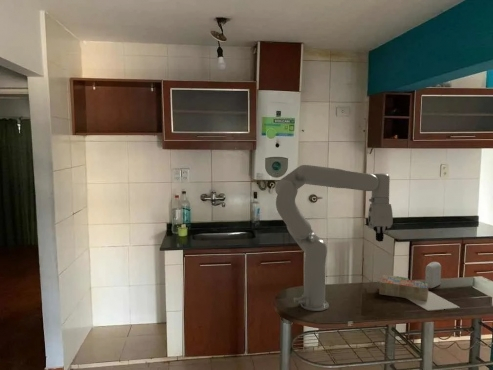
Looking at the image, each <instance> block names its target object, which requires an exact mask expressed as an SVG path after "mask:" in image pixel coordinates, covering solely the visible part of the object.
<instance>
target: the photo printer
mask: <svg viewBox="0 0 493 370" xmlns="http://www.w3.org/2000/svg"><path fill="white" fill-rule="evenodd" d="M424 276H425V278H424V279H425V280H424V282H425V283H428V289H432V288H435V287H439V286H440V285H441V282H442V278H441V277H442V265H441V263H440V262H438V261H432V262H429V263H428V264H427V265H426V266H425V274H424Z"/></svg>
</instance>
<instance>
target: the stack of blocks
mask: <svg viewBox="0 0 493 370" xmlns="http://www.w3.org/2000/svg"><path fill="white" fill-rule="evenodd" d="M378 284H379V288H378V289H379V290H378V294H379V295H382V296H383V295H384V296H388V297H389V296H390V297H398V298H404V299H407V298H409V299H415V300H423V301H427V298H428V291H429V288H428V283H425V281H419V280H410V278H409V277H403V276H398V275H397V276H396V275H389V274H382V276H381V278H380V280H379V283H378Z"/></svg>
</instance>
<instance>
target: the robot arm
mask: <svg viewBox="0 0 493 370" xmlns="http://www.w3.org/2000/svg"><path fill="white" fill-rule="evenodd" d="M390 181H391V179H390V175H389V174H388V173H374V174H373V173H365V172H357V171H350V170H344V169H340V168H336V167H335V168H334V167H327V166H318V165H312V164H311V165H310V164H302V165H301V164H300V165H299V166H298V167H296V168H295V169H293V170H292V171H290V172H289V173H288V174H286V175H285V176H283V177H282V178H281V179H280V180H278V181H277V182H276V184H275V186H274V187H275V189H274V190H275V193H276V197H275V198H276V199H275V208H276V211H277V213H278V214H279V215H278V216H280V218H281V220H282V221H283V222H284V224H285V226H286V229H287V231H288V233H289V234H290V236H291V238H293V240H294V241H295V242H296V244H297V246H299V248H300V249H301V250H302V251H303V253H304V263H303V294H301V296H299V297H293V303H298V304H300V307H301V308H302V309H304V310H308V311H312V312H322V311H325V310H328V308H329V306H330V305H329V302H327V300H326V261H327V254H328V247H327V244H326V243H325V241H324V240H323V239H322V238H320V237H319V236H318V235H317V234H316V233H315V232H314V230H313V229H312V226H311V223H310V222H309V221H308V219H306V218H305V216H304V214H303V213H302V211H300V209H299V207H298V206H297V204H296V197H297V194H298V190H299V189H300V188H301V187H303V186H304V185H310V186H311V185H312V186H319V187H327V188H328V187H329V188H335V189H349V190H357V191H363V192H371V196H370V198H369V199H368V201H369V202H370V203H369V209H368V212H367V213H368V215H367V224H368V229H371V230H373V231H374V232H375V240H376V241H378V242H383V241H384V233H386V230H387V229H390V228H392V225H393V222H394V220H393V219H394V217H393V208H392V204H391V203H390Z"/></svg>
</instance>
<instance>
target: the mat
mask: <svg viewBox="0 0 493 370" xmlns="http://www.w3.org/2000/svg"><path fill="white" fill-rule="evenodd" d="M406 300H409V301H410V302H412V303H414V304H416V305H417V306H419V307H420V308H422V309H424V310H425V311H427V312H432V311H433V312H434V311H444V309H445V310H453V309H460V308H461V307H460V306H458V305H457V304H455V303H453V302H451V301H448V300H447V299H445V298H444V297H441V296H439V295H437V294H436V293H434V292H432V291H429V290H428V298H427V301H423V300H415V299H409V298H406Z"/></svg>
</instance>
